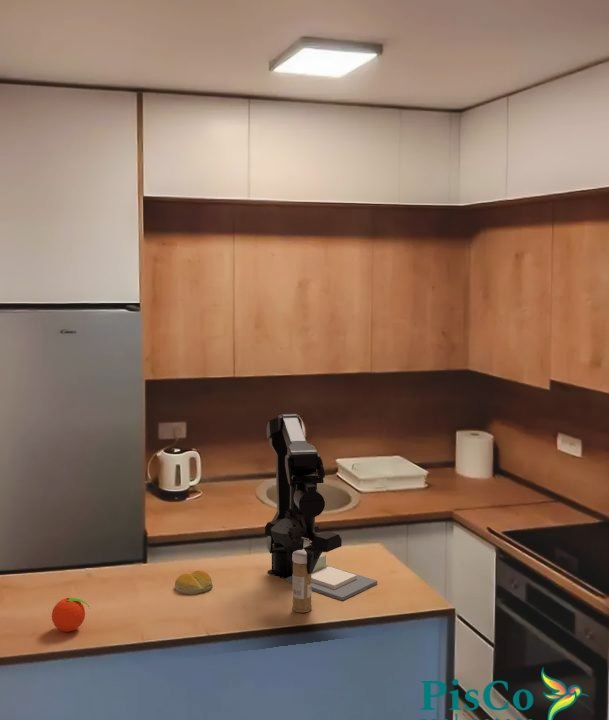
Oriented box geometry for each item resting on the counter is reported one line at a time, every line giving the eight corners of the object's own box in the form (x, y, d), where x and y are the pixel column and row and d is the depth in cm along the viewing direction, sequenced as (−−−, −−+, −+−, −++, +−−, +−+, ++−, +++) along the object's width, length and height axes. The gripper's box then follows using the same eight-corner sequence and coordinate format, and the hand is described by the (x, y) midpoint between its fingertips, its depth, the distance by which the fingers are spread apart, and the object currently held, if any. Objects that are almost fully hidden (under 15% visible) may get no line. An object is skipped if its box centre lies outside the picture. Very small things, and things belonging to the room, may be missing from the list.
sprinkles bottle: (315, 610, 184) (316, 553, 183) (298, 615, 182) (299, 557, 180) (304, 603, 188) (305, 547, 187) (288, 607, 186) (288, 551, 184)
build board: (285, 581, 202) (285, 562, 201) (321, 566, 212) (321, 548, 212) (342, 600, 190) (342, 581, 189) (377, 583, 200) (377, 565, 200)
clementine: (92, 621, 178) (91, 590, 177) (89, 635, 171) (88, 603, 170) (54, 624, 176) (53, 592, 176) (49, 638, 169) (48, 605, 169)
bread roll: (170, 586, 198) (170, 571, 198) (203, 580, 203) (203, 564, 202) (182, 598, 191) (182, 582, 191) (217, 591, 196) (217, 575, 195)
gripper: (247, 504, 182) (248, 570, 184) (311, 521, 170) (310, 592, 172) (281, 494, 191) (281, 558, 192) (343, 509, 179) (342, 577, 180)
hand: (302, 571), depth 184 cm, fingers closed on sprinkles bottle, 4 cm apart
